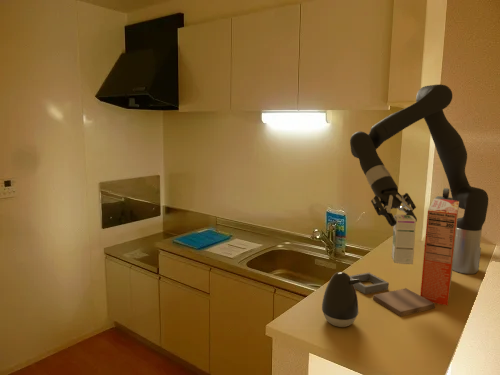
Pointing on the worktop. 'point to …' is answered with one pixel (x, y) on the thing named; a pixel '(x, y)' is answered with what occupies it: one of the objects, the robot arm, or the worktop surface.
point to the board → (403, 302)
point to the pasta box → (439, 250)
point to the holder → (376, 287)
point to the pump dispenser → (340, 300)
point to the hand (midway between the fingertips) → (404, 223)
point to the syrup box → (403, 239)
